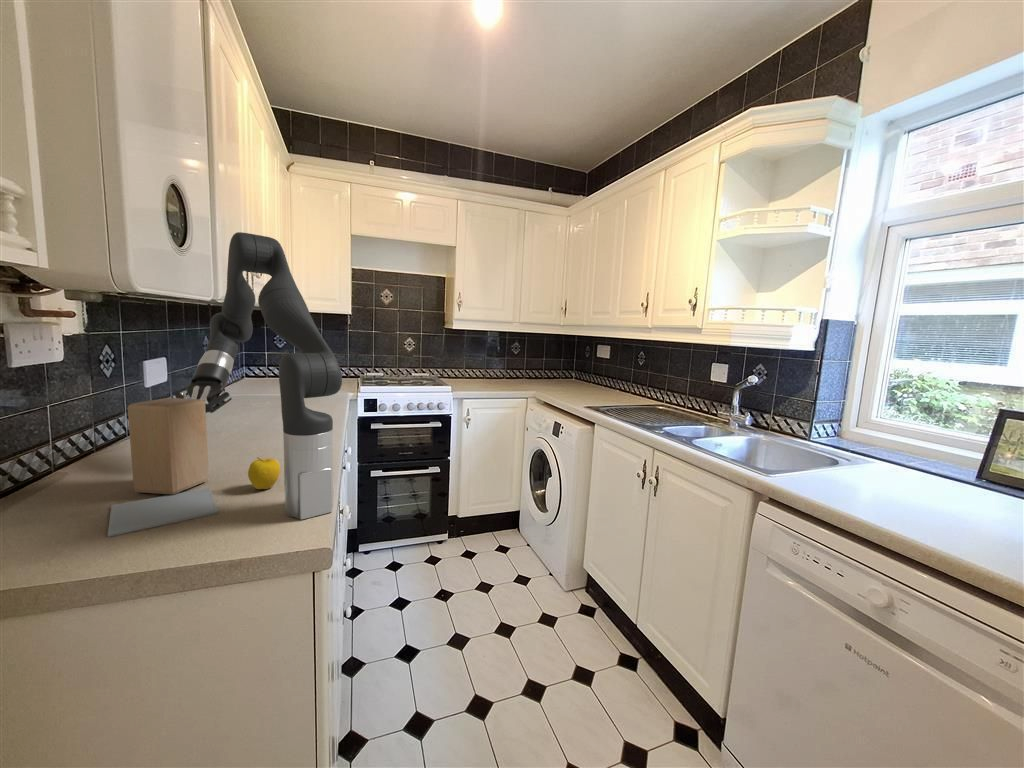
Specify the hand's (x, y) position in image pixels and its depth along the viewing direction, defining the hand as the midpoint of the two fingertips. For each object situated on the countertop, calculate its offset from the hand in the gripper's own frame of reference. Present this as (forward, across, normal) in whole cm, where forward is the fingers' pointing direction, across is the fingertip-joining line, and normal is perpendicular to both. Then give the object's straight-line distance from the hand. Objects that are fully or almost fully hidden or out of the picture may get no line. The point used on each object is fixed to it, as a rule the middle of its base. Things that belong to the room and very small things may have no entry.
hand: (191, 425), depth 100 cm
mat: (+24, +5, -6) cm, 25 cm away
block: (+15, 0, +3) cm, 15 cm away
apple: (+17, +20, +2) cm, 26 cm away
